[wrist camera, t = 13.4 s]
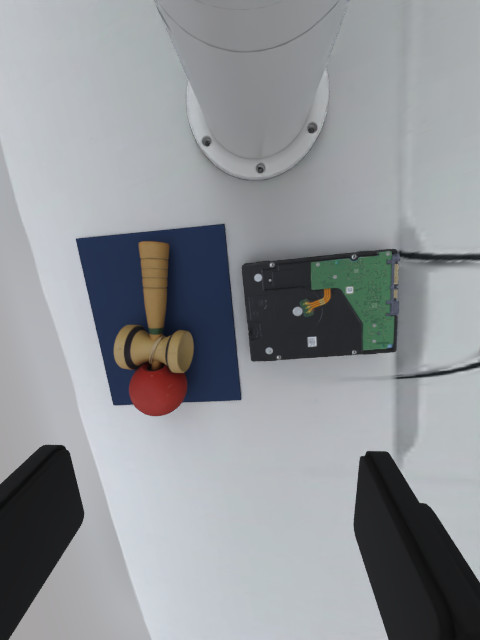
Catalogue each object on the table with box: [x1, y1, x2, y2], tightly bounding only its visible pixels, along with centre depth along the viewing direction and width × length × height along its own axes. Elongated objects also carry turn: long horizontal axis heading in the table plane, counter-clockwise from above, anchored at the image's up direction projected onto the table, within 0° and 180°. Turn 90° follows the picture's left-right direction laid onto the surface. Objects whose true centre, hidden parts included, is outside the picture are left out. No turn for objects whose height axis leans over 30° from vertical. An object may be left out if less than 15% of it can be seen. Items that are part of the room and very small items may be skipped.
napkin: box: [76, 224, 241, 405], centre depth 31 cm, size 20×16×1 cm
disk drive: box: [242, 249, 400, 361], centre depth 28 cm, size 10×3×15 cm
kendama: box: [114, 241, 194, 416], centre depth 29 cm, size 8×6×18 cm
